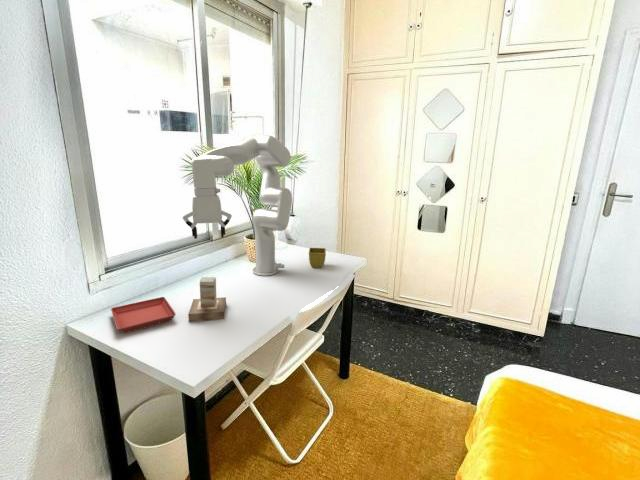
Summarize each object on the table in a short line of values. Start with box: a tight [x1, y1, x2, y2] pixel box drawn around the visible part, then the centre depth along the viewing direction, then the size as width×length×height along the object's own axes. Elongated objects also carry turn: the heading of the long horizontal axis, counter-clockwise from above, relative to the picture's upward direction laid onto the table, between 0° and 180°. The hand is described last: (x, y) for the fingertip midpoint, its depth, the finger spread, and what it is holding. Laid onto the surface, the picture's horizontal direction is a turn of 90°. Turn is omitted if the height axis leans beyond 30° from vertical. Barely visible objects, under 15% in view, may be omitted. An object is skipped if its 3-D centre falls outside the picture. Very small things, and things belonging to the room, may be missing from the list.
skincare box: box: [199, 276, 217, 307], centre depth 123 cm, size 5×4×10 cm
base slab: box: [187, 297, 227, 323], centre depth 125 cm, size 12×12×3 cm
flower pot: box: [308, 247, 327, 269], centre depth 176 cm, size 9×9×9 cm
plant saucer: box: [110, 296, 177, 334], centre depth 120 cm, size 18×18×3 cm
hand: (209, 237), depth 127 cm, fingers open, 9 cm apart
